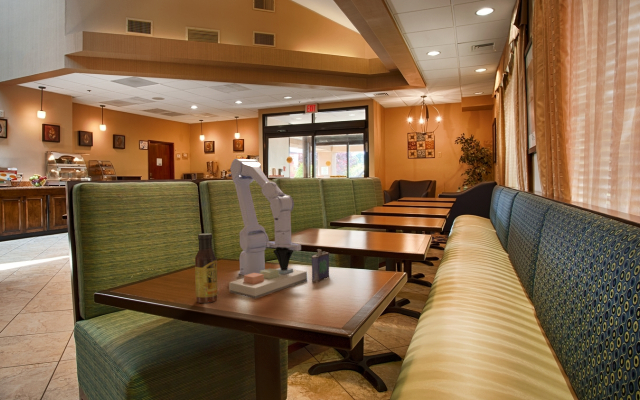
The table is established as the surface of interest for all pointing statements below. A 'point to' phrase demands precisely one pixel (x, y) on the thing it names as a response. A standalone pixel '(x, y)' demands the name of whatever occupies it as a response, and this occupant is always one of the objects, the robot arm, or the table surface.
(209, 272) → the sauce bottle
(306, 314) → the table surface
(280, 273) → the slate key
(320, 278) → the flask
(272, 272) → the sage key
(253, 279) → the terracotta key
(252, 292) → the keypad base
